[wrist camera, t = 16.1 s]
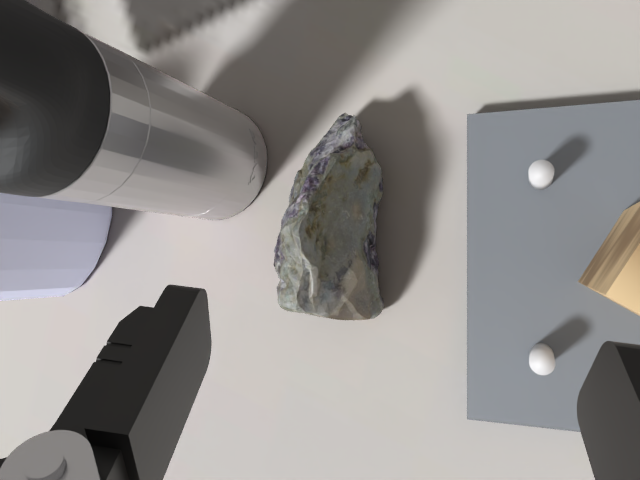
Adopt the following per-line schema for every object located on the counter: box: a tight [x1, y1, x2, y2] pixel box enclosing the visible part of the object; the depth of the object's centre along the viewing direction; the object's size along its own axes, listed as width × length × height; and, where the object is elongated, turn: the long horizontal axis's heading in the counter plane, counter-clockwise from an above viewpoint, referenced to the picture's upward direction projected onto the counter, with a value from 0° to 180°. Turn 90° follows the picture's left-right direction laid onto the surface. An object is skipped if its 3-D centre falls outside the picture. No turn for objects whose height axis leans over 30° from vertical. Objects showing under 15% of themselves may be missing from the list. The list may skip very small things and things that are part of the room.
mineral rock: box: [274, 113, 384, 320], centre depth 36 cm, size 13×11×10 cm
